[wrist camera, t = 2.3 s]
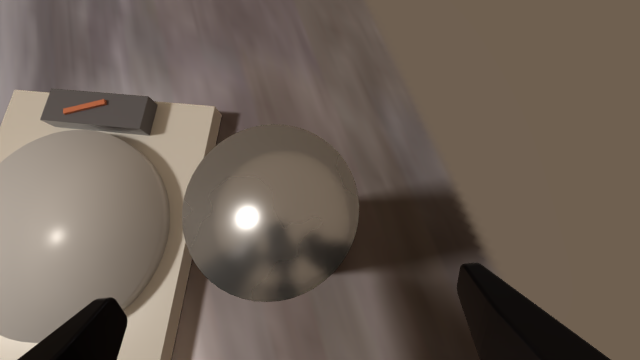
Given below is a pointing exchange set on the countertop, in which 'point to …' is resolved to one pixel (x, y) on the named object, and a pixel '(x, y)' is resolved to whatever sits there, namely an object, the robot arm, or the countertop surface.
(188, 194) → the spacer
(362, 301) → the countertop surface
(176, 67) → the countertop surface
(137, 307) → the scale
